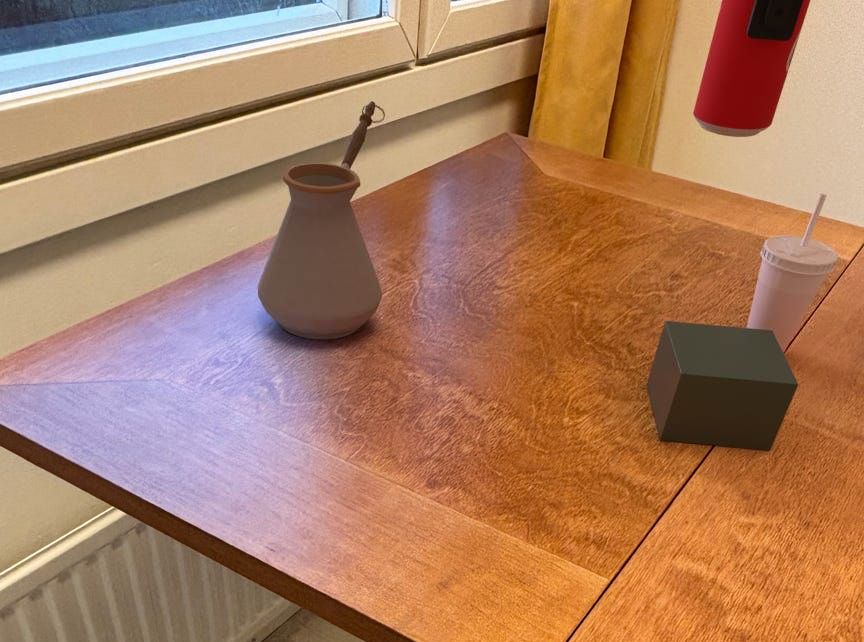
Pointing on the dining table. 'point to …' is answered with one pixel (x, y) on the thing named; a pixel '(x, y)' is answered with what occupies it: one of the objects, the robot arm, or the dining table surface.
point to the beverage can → (743, 74)
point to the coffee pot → (322, 251)
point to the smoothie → (790, 280)
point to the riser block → (719, 385)
